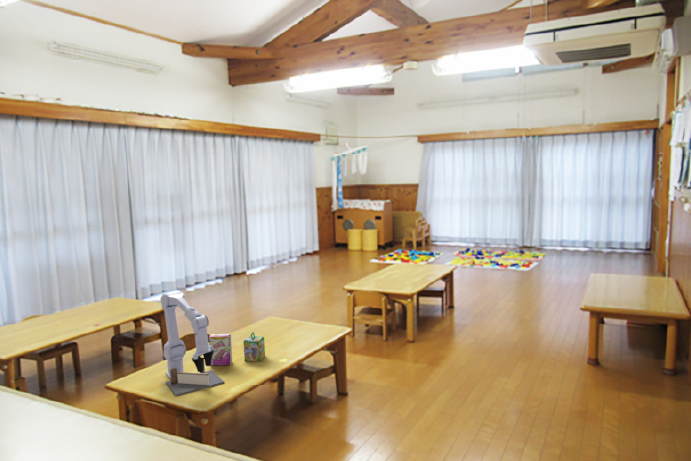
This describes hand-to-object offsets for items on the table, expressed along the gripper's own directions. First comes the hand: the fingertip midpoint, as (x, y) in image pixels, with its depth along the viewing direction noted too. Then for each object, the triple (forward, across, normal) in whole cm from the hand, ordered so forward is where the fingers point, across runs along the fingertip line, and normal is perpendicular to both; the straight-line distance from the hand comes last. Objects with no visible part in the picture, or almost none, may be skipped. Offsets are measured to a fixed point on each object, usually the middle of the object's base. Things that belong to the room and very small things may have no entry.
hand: (204, 368), depth 228 cm
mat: (+9, +5, +9) cm, 14 cm away
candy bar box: (+9, +30, +7) cm, 32 cm away
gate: (+8, +2, +8) cm, 11 cm away
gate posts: (+9, +7, +14) cm, 18 cm away
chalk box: (+9, +40, -8) cm, 42 cm away
